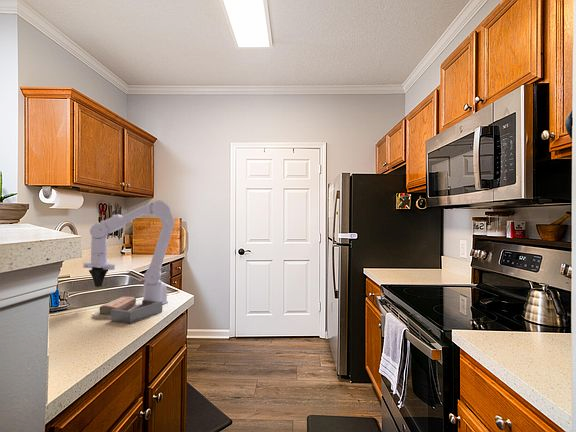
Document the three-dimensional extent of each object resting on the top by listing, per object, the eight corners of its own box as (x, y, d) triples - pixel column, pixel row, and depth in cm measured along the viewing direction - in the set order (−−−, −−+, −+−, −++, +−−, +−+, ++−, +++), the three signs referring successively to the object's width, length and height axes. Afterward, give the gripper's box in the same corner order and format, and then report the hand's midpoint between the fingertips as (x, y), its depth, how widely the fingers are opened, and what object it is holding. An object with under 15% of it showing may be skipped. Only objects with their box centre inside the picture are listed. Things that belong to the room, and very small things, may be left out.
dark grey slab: (144, 309, 143) (144, 299, 143) (162, 311, 140) (162, 301, 140) (110, 321, 127) (111, 309, 127) (129, 323, 124) (130, 312, 124)
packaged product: (117, 295, 148) (141, 296, 148) (117, 306, 148) (140, 307, 148) (91, 306, 130) (118, 307, 130) (91, 319, 130) (117, 320, 130)
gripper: (76, 253, 144) (76, 286, 144) (104, 255, 139) (104, 289, 139) (91, 251, 151) (91, 283, 151) (118, 253, 146) (118, 286, 146)
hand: (98, 286), depth 145 cm, fingers closed
